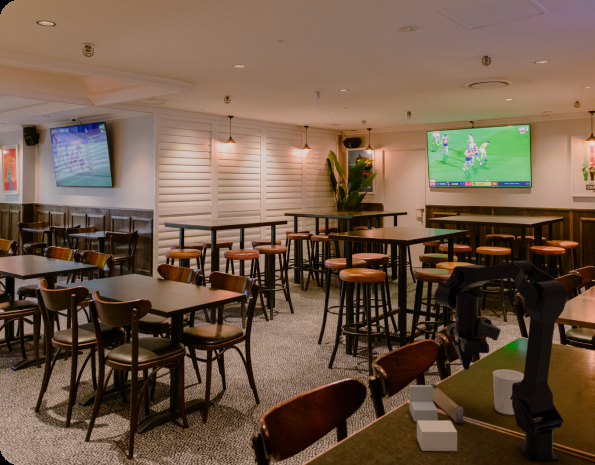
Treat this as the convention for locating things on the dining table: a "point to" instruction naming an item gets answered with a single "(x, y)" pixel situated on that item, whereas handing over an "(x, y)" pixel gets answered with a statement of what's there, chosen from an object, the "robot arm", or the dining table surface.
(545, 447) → the robot arm
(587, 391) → the dining table surface
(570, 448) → the dining table surface
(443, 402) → the tan long bar
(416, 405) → the grey l-shaped block
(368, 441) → the dining table surface
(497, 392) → the white cup
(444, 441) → the socket block
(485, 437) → the dining table surface
